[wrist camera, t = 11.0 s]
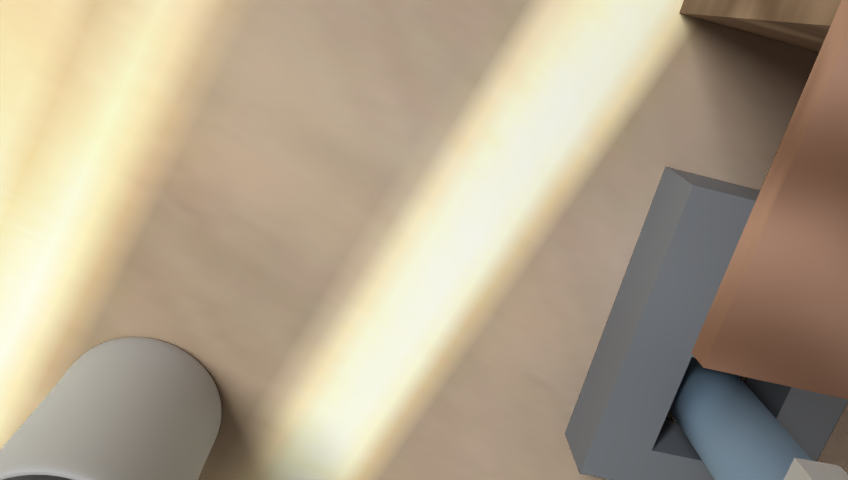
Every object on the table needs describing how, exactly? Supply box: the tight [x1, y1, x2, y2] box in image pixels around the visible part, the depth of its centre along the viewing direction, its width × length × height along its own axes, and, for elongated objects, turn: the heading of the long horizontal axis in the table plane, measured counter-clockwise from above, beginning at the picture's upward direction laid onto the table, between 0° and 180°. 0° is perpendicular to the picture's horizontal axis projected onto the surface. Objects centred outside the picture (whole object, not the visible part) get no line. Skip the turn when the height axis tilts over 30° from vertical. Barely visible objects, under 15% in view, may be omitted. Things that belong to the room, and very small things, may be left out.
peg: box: [669, 357, 813, 480], centre depth 34 cm, size 4×4×12 cm
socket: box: [565, 167, 848, 480], centre depth 37 cm, size 16×12×4 cm
